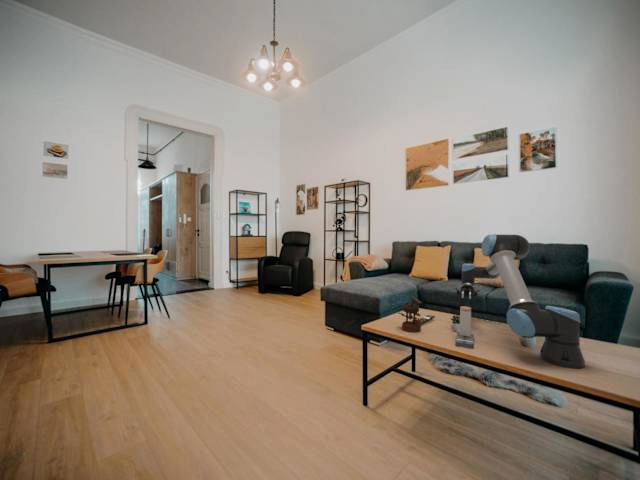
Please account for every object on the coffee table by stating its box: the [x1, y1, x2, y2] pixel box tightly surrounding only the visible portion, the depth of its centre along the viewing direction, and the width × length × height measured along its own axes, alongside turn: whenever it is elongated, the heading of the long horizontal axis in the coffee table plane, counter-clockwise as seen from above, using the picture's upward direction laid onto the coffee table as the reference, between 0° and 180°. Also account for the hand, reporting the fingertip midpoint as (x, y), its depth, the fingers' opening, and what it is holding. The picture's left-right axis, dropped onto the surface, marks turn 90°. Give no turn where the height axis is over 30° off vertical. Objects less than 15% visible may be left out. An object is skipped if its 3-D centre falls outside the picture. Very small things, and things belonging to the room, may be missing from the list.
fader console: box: [454, 331, 475, 350], centre depth 148 cm, size 18×8×2 cm, turn 151°
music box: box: [397, 295, 423, 334], centre depth 167 cm, size 15×11×20 cm
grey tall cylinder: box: [459, 305, 472, 337], centre depth 152 cm, size 5×5×15 cm
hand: (466, 295), depth 157 cm, fingers open, 3 cm apart
